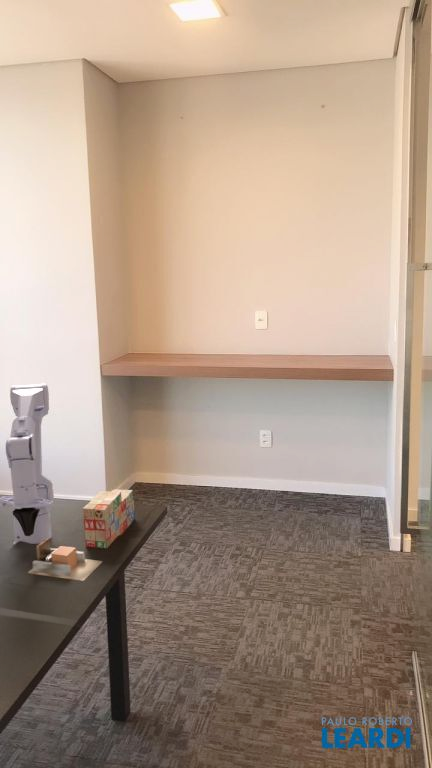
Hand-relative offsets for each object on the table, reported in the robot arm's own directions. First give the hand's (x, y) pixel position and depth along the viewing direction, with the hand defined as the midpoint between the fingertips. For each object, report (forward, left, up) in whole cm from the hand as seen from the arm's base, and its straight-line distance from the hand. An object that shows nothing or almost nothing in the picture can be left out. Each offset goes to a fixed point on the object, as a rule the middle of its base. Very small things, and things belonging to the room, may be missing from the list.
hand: (29, 534), depth 160 cm
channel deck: (+10, 0, -9) cm, 13 cm away
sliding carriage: (+5, 0, -7) cm, 9 cm away
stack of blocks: (+11, +22, -9) cm, 27 cm away
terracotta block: (+10, 0, -8) cm, 12 cm away
